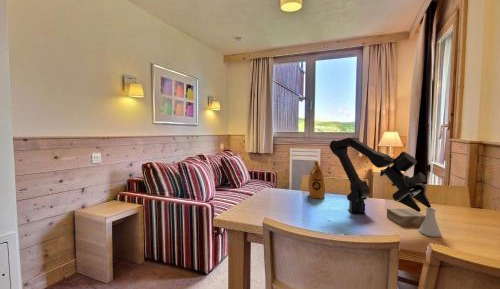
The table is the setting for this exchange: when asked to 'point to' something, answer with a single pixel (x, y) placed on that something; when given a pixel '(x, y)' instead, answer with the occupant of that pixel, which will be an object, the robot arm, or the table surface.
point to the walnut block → (405, 216)
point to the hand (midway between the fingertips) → (425, 209)
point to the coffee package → (316, 182)
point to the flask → (430, 224)
